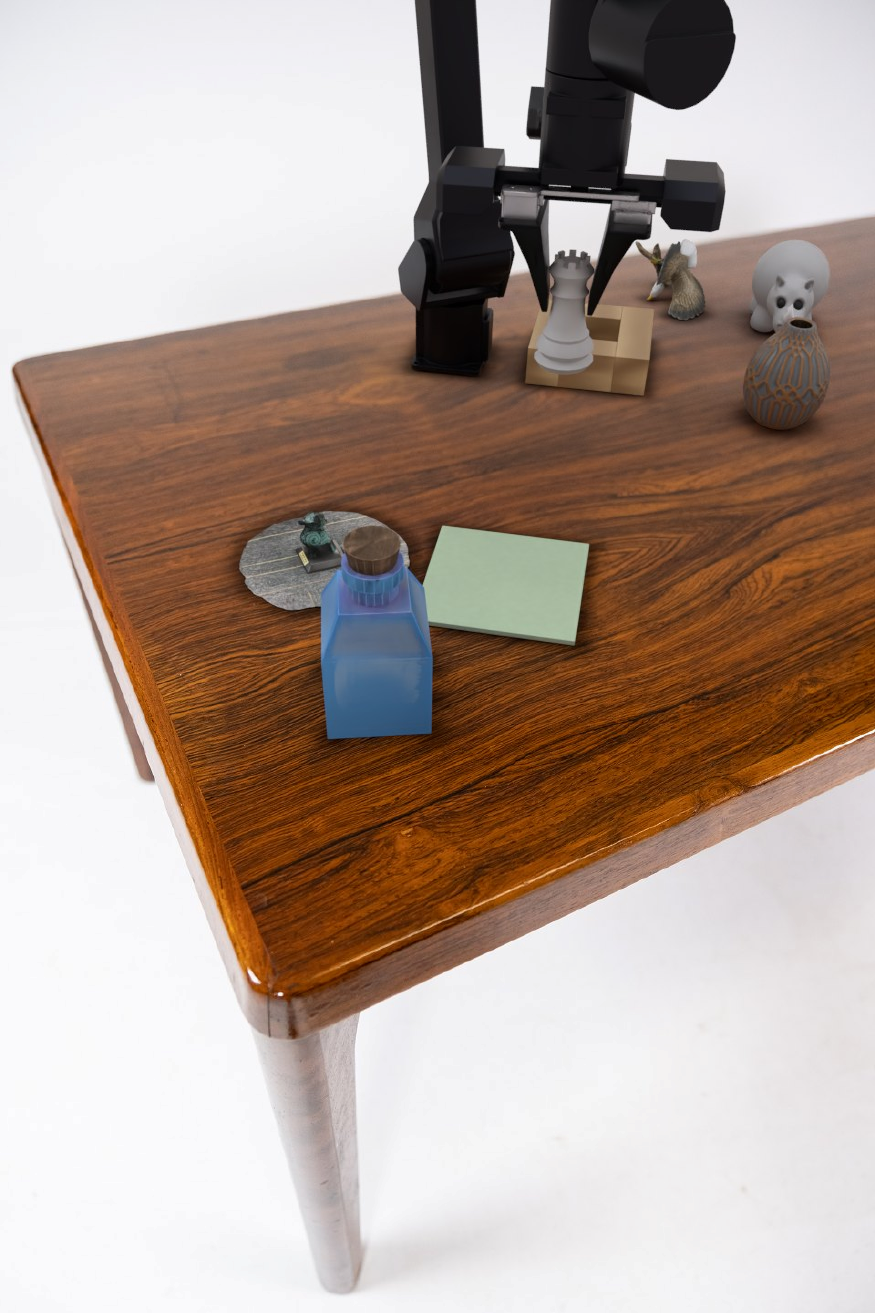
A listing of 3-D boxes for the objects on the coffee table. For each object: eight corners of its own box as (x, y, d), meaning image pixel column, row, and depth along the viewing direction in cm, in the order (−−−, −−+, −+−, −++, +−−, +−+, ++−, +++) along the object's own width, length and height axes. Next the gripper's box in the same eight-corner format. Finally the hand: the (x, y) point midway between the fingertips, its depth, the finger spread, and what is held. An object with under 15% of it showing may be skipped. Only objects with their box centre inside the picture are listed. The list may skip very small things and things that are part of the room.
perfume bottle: (327, 667, 65) (314, 511, 57) (423, 663, 65) (424, 507, 57) (327, 738, 60) (313, 580, 52) (431, 733, 61) (433, 575, 53)
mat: (411, 623, 68) (411, 618, 68) (442, 529, 76) (442, 525, 76) (574, 646, 67) (575, 641, 66) (588, 548, 75) (589, 543, 74)
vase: (819, 443, 86) (849, 345, 80) (736, 433, 87) (759, 336, 81) (813, 403, 91) (841, 309, 85) (735, 395, 92) (757, 301, 86)
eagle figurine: (612, 276, 109) (640, 294, 101) (653, 214, 106) (684, 228, 98) (666, 312, 112) (696, 333, 104) (706, 253, 109) (740, 270, 101)
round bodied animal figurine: (736, 358, 97) (756, 270, 92) (744, 307, 106) (763, 224, 100) (813, 369, 96) (838, 280, 90) (815, 317, 104) (839, 233, 99)
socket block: (525, 383, 93) (527, 347, 91) (539, 332, 101) (542, 298, 98) (643, 395, 92) (649, 359, 89) (648, 343, 99) (654, 308, 97)
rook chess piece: (598, 354, 77) (610, 248, 72) (586, 380, 74) (597, 271, 69) (541, 346, 78) (548, 241, 73) (527, 371, 75) (533, 263, 70)
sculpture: (206, 573, 72) (245, 467, 72) (284, 592, 80) (320, 497, 79) (332, 633, 67) (375, 519, 66) (402, 646, 75) (442, 545, 74)
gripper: (739, 47, 68) (696, 278, 78) (463, 34, 70) (458, 260, 81) (746, 89, 60) (698, 341, 70) (435, 72, 62) (433, 318, 72)
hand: (567, 311), depth 74 cm, fingers closed on rook chess piece, 3 cm apart
